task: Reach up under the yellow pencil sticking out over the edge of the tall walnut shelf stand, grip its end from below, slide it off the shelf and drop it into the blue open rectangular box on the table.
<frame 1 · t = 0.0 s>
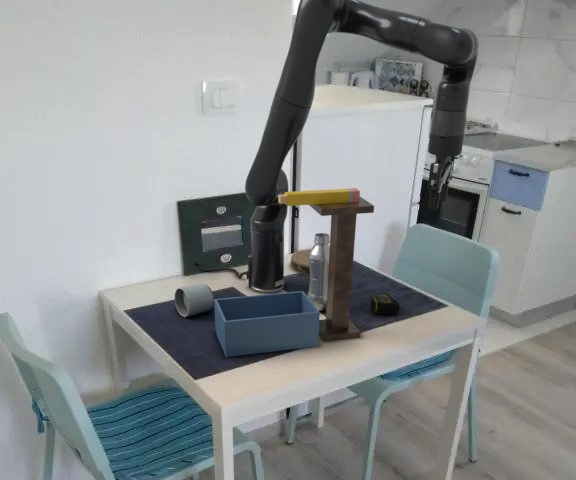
hand: (437, 204, 146), 29 cm above the table, tool pointing down, fingers open, 8 cm apart
shelf stand: (332, 331, 153), on the table
ceramic mug: (192, 312, 162), on the table
tape measure: (384, 311, 165), on the table
pencil: (318, 202, 135), point 32 cm above the table, touching shelf stand
brown flat round disc: (316, 267, 193), on the table
blue open rectangular box: (266, 339, 149), on the table
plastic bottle: (318, 309, 165), on the table
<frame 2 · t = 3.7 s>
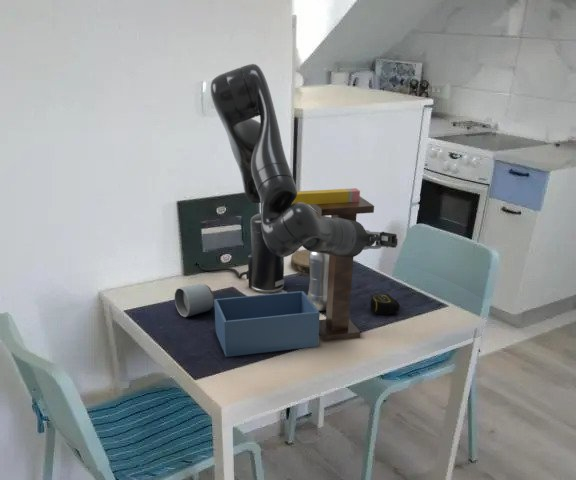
hand: (379, 243, 138), 24 cm above the table, tool tilted 70°, fingers open, 7 cm apart
nothing on the table moved.
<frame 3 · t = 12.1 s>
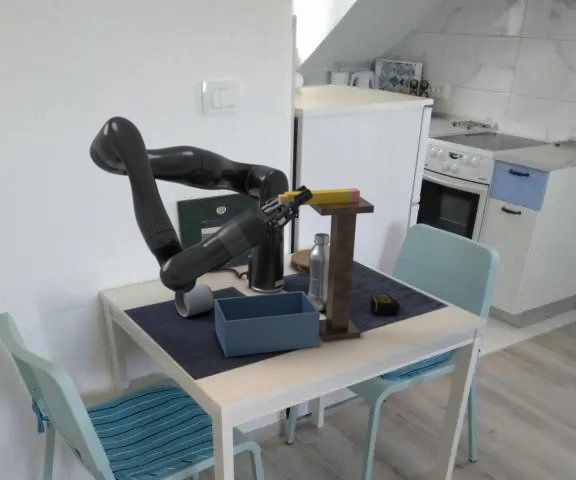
hand: (308, 190, 133), 35 cm above the table, tool pointing upward, fingers closed on pencil, 2 cm apart
pencil: (318, 202, 135), point 32 cm above the table, touching gripper, shelf stand
everything else where it was.
when the fingers open (22 cm above the table, at t = 19.9 s): pencil drops 19 cm, resting on blue open rectangular box.
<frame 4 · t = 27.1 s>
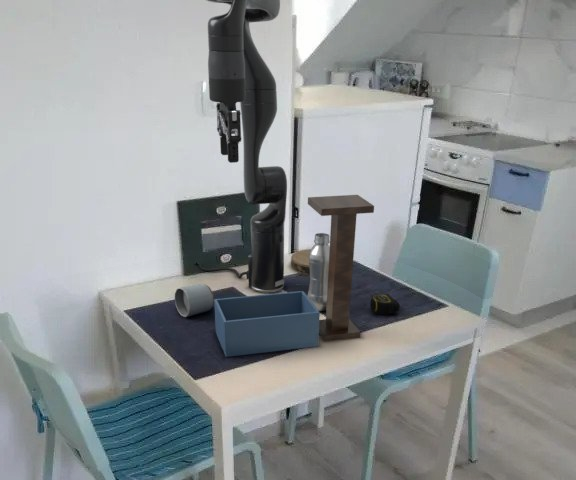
hand: (229, 158, 135), 40 cm above the table, tool pointing down, fingers open, 8 cm apart
pencil: (264, 336, 148), point 1 cm above the table, touching blue open rectangular box
everything else where it was.
at the end: pencil inside the target area in the blue open rectangular box (0.4 cm from its centre), point 0.8 cm above the blue open rectangular box's base; the gripper is holding nothing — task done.
